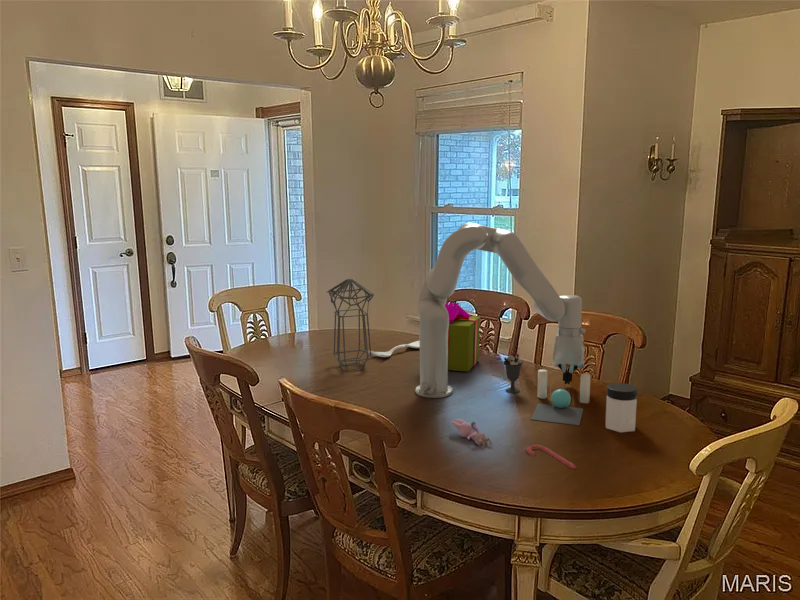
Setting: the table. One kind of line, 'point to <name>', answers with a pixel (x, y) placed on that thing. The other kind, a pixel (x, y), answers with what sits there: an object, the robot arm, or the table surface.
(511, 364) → the sundae
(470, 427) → the pink elongated figure
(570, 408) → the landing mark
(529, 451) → the candy cane
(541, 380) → the left post
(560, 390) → the ball
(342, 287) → the geometric lantern
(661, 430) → the table surface
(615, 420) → the jar
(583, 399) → the right post
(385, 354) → the spoon
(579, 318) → the robot arm
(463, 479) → the table surface
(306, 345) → the table surface
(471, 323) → the gift box
